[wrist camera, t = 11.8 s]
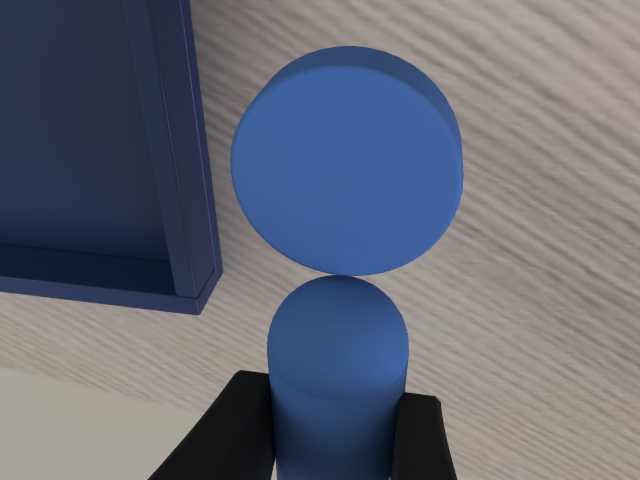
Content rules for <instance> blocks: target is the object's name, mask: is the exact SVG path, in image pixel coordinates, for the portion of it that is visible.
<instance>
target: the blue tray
mask: <svg viewBox="0 0 640 480" xmlns="http://www.w3.org/2000/svg"><path fill="white" fill-rule="evenodd" d="M222 273H223V268H222V260H221V252H220V244H219V236H218V228H217V220H216V212H215V204H214V196H213V188H212V180H211V172H210V164H209V156H208V148H207V140H206V132H205V124H204V116H203V108H202V100H201V93H200V85H199V77H198V69H197V61H196V53H195V45H194V37H193V29H192V21H191V13H190V5H189V0H0V292H7V293H16V294H24V295H32V296H41V297H49V298H57V299H66V300H74V301H82V302H91V303H99V304H107V305H116V306H124V307H132V308H141V309H149V310H157V311H166V312H174V313H182V314H191V315H200V314H201V312H202V310H203V308H204V306H205V304H206V303H207V301H208V299H209V297H210V295H211V293H212V292H213V290H214V288H215V286H216V284H217V281H219V279H220V277H221V275H222Z"/></svg>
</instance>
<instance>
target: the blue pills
mask: <svg viewBox="0 0 640 480" xmlns="http://www.w3.org/2000/svg"><path fill="white" fill-rule="evenodd" d="M230 160H231V175H232V181H233V187H234V190H235V193H236V196H237V200H238V202H239V204H240V206H241V208H242V211H243V212H244V214H245V216H246V217H247V219H248V221H249V222H250V224H251V225H252V226H253V227H254V229H255V230H256V231H257V233H258V234H259V235H260V236H261V237H262V238H263V239H264V240H265V241H266V242H267V243H268V244H270V245H271V246H272V247H273V248H275V249H276V250H277V251H278V252H280V253H281V254H283V255H284V256H286V257H288V258H289V259H291V260H293V261H295V262H297V263H299V264H301V265H303V266H306V267H309V268H311V269H314V270H317V271H321V272H325V273H329V274H336V275H330V276H324V277H320V278H316V279H314V280H311V281H308V282H306V283H304V284H302V285H301V286H300V287H298V288H297V289H296V290H294V291H293V292H292V293H291V294H289V295H288V296H287V297H286V299H285V300H284V301H283V302H282V303H281V305H280V306H279V308H278V309H277V311H276V313H275V315H274V317H273V319H272V322H271V325H270V329H269V333H268V342H267V355H268V368H269V380H270V392H271V405H272V418H273V431H274V443H275V456H276V470H277V480H391V473H392V463H393V453H394V443H395V434H396V424H397V414H398V405H399V398H400V397H401V395H402V394H403V392H405V384H406V375H407V366H408V357H409V344H408V333H407V330H406V326H405V323H404V320H403V318H402V315H401V314H400V312H399V310H398V309H397V307H396V306H395V304H394V303H393V301H392V300H391V299H390V298H389V297H388V296H387V295H386V294H385V293H384V292H383V291H381V290H380V289H379V288H378V287H376V286H374V285H373V284H371V283H369V282H367V281H365V280H362V279H358V278H355V277H352V276H363V275H372V274H378V273H383V272H386V271H390V270H393V269H396V268H398V267H401V266H403V265H406V264H408V263H409V262H411V261H413V260H415V259H416V258H418V257H419V256H421V255H422V254H423V253H425V252H426V251H427V250H429V249H430V248H431V247H432V246H433V245H434V244H435V243H436V242H437V241H438V240H439V239H440V238H441V236H442V235H443V234H444V232H445V231H446V230H447V228H448V227H449V225H450V223H451V221H452V220H453V218H454V216H455V213H456V211H457V208H458V206H459V203H460V198H461V194H462V188H463V160H462V145H461V135H460V131H459V127H458V123H457V120H456V118H455V115H454V112H453V110H452V108H451V106H450V105H449V103H448V101H447V99H446V97H445V96H444V95H443V93H442V92H441V91H440V90H439V88H438V87H437V86H436V85H435V84H434V83H433V82H432V81H431V80H430V79H429V78H428V77H427V76H426V75H425V74H424V73H423V72H421V71H420V70H419V69H417V68H416V67H415V66H413V65H412V64H410V63H408V62H406V61H405V60H403V59H401V58H399V57H397V56H394V55H392V54H389V53H387V52H384V51H380V50H376V49H372V48H366V47H356V46H341V47H332V48H326V49H321V50H318V51H315V52H312V53H308V54H306V55H304V56H302V57H300V58H298V59H296V60H294V61H293V62H291V63H289V64H288V65H286V66H285V67H283V68H282V69H281V70H280V71H279V72H278V73H277V74H275V75H274V76H273V77H272V78H271V80H270V81H269V82H268V83H267V84H266V85H265V87H264V88H263V89H262V90H261V92H260V93H259V94H258V95H257V97H256V98H255V99H254V100H253V101H252V103H251V104H250V105H249V106H248V108H247V110H246V111H245V113H244V114H243V116H242V118H241V120H240V122H239V124H238V127H237V129H236V131H235V135H234V139H233V143H232V149H231V158H230Z"/></svg>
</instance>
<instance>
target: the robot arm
mask: <svg viewBox="0 0 640 480" xmlns="http://www.w3.org/2000/svg"><path fill="white" fill-rule="evenodd" d="M275 457H276V456H275V443H274V431H273V418H272V405H271V392H270V380H269V374H266V373H259V372H251V371H244V370H240V371H238V372H237V373H235V374H234V376H233V377H232V378H231V380H230V381H229V383H228V384H227V385H226V387H225V388H224V389H223V391H222V392H221V393H220V395H219V396H218V397H217V398H216V400H215V401H214V402H213V404H212V405H211V406H210V407H209V409H208V410H207V411H206V412H205V414H204V415H203V416H202V417H201V419H200V420H199V421H198V422H197V423H196V425H195V426H194V427H193V428H192V430H191V431H190V432H189V433H188V434H187V436H186V437H185V438H184V439H183V440H182V441H181V442H180V444H179V445H178V446H177V447H176V448H175V449H174V450H173V452H172V453H171V454H170V455H169V456H168V457H167V459H166V460H165V461H164V462H163V463H162V464H161V465H160V467H159V468H158V469H157V470H156V471H155V472H154V473H153V474H152V475H151V477H150V478H149V479H148V480H271V476H272V471H273V466H274V462H275ZM391 480H457V477H456V473H455V470H454V466H453V462H452V458H451V455H450V451H449V447H448V442H447V438H446V433H445V428H444V423H443V417H442V410H441V402H440V401H439V400H438V399H437V398H436V397H435V396H429V395H422V394H414V393H407V392H403V394H402V395H401V397H400V398H399V405H398V414H397V424H396V434H395V443H394V453H393V463H392V473H391Z"/></svg>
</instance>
